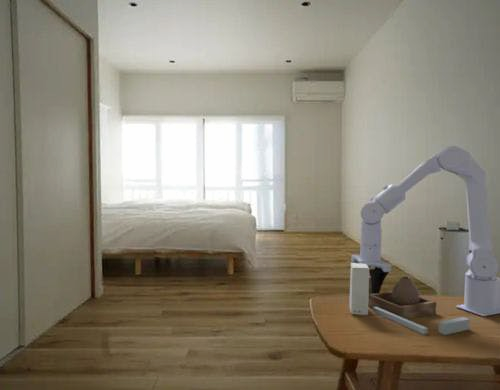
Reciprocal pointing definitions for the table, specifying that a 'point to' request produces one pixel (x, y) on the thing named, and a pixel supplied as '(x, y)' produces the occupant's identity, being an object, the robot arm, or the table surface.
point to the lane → (444, 327)
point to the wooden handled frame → (405, 311)
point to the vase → (405, 292)
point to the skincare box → (359, 289)
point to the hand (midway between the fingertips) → (369, 290)
